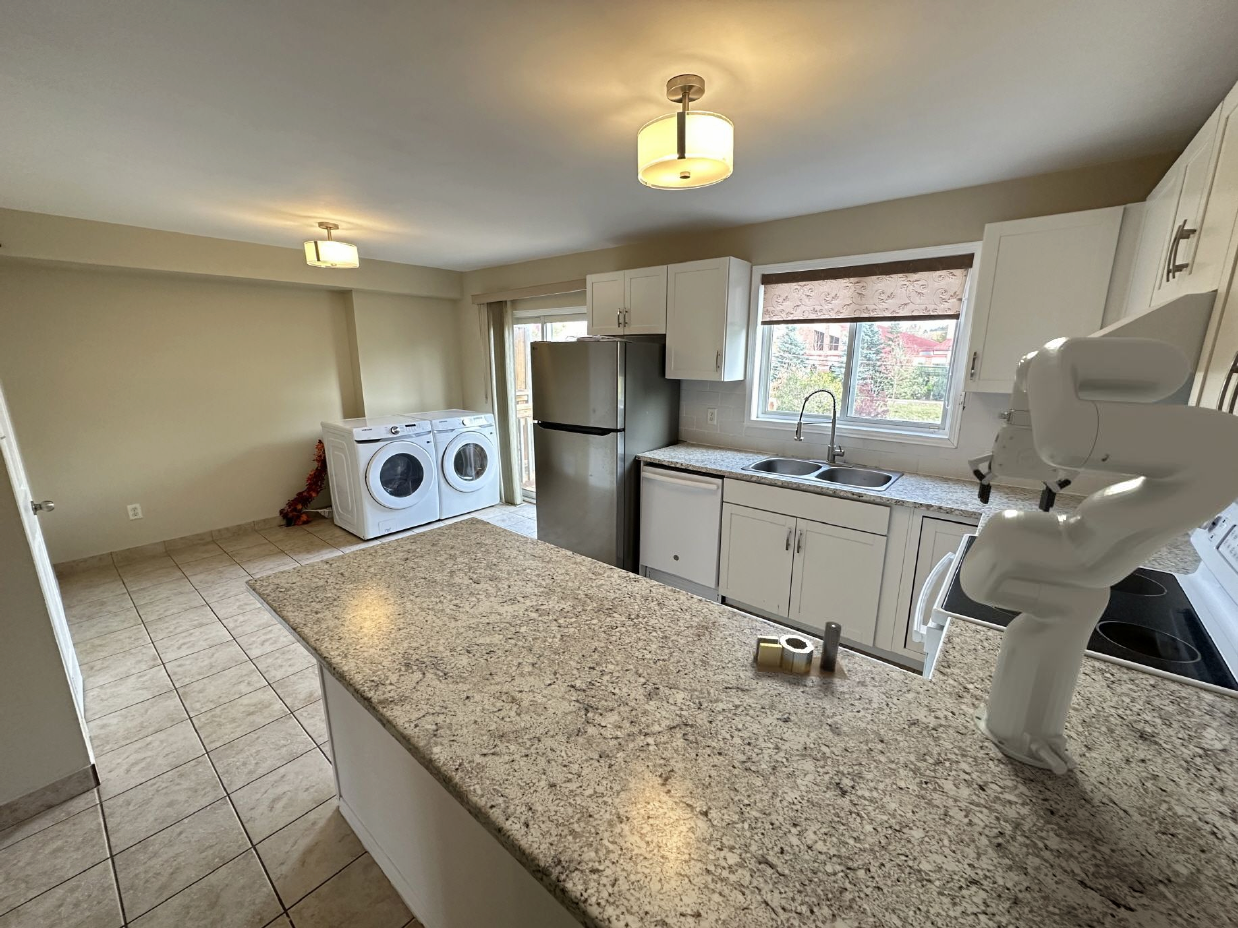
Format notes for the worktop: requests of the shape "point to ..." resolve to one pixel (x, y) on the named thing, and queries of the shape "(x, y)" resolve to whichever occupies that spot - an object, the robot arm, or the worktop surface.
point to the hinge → (784, 653)
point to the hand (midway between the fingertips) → (1013, 506)
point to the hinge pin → (830, 646)
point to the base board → (814, 671)
